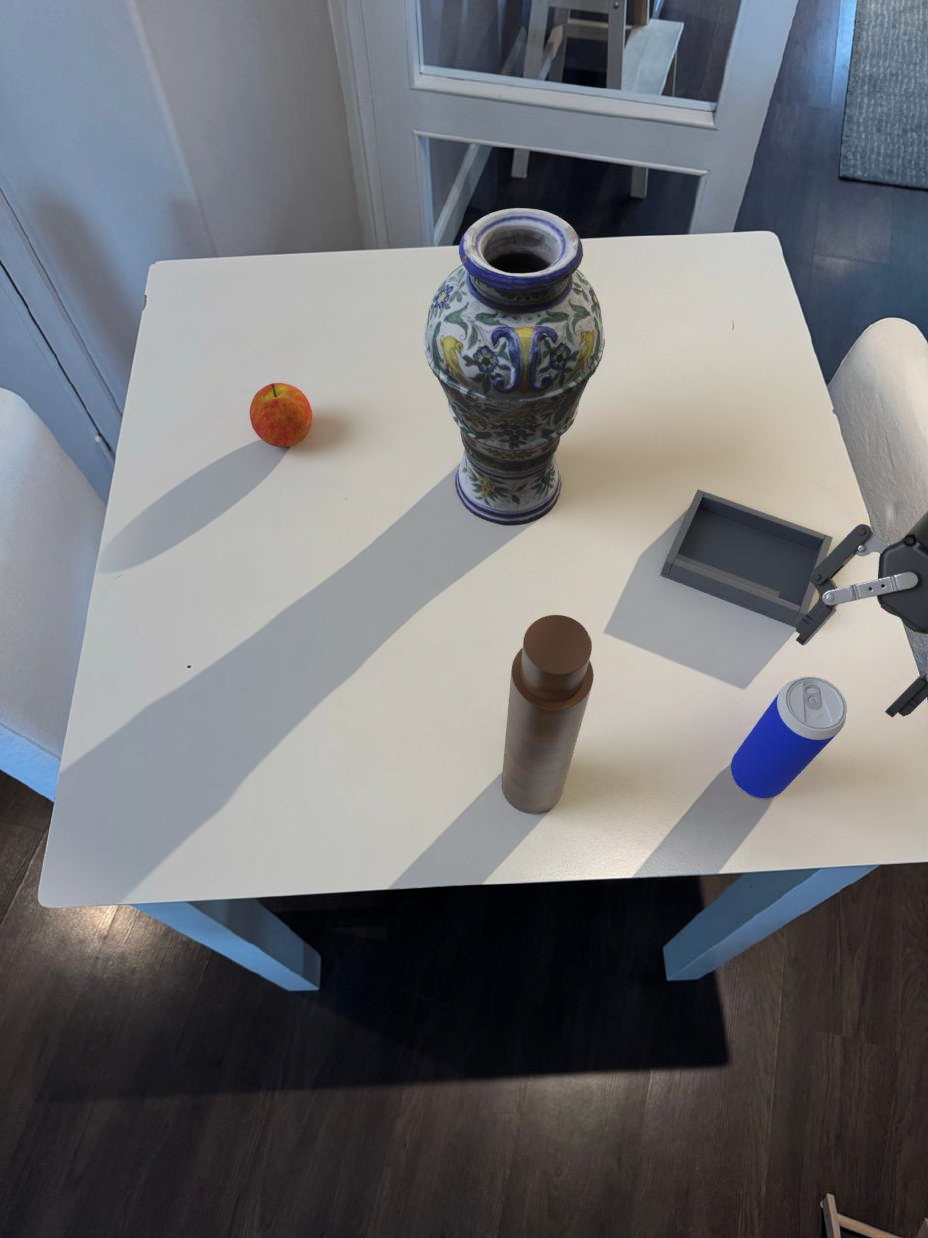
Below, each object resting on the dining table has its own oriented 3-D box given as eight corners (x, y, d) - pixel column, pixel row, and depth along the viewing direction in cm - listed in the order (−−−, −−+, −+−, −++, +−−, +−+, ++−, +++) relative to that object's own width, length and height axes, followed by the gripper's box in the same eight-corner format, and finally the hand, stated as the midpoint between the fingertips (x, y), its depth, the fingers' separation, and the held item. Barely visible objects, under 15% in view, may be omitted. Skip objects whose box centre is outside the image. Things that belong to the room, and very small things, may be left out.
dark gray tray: (824, 551, 89) (833, 536, 87) (798, 628, 84) (806, 615, 82) (692, 503, 92) (697, 488, 90) (659, 575, 87) (664, 561, 85)
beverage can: (791, 801, 75) (857, 735, 62) (733, 800, 75) (787, 734, 62) (780, 747, 77) (842, 673, 65) (725, 746, 78) (775, 672, 65)
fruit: (321, 453, 97) (309, 402, 90) (261, 464, 96) (245, 414, 89) (311, 410, 100) (300, 358, 93) (253, 421, 99) (237, 369, 92)
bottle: (572, 770, 76) (614, 626, 54) (548, 824, 74) (581, 696, 52) (517, 745, 78) (535, 594, 55) (491, 797, 75) (499, 661, 53)
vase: (433, 547, 90) (417, 315, 64) (432, 428, 98) (417, 182, 73) (588, 543, 90) (634, 310, 64) (573, 424, 99) (608, 178, 73)
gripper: (908, 451, 61) (762, 622, 67) (1095, 573, 55) (917, 747, 61) (916, 464, 67) (782, 619, 73) (1085, 574, 62) (924, 732, 68)
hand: (844, 677), depth 67 cm, fingers open, 8 cm apart
